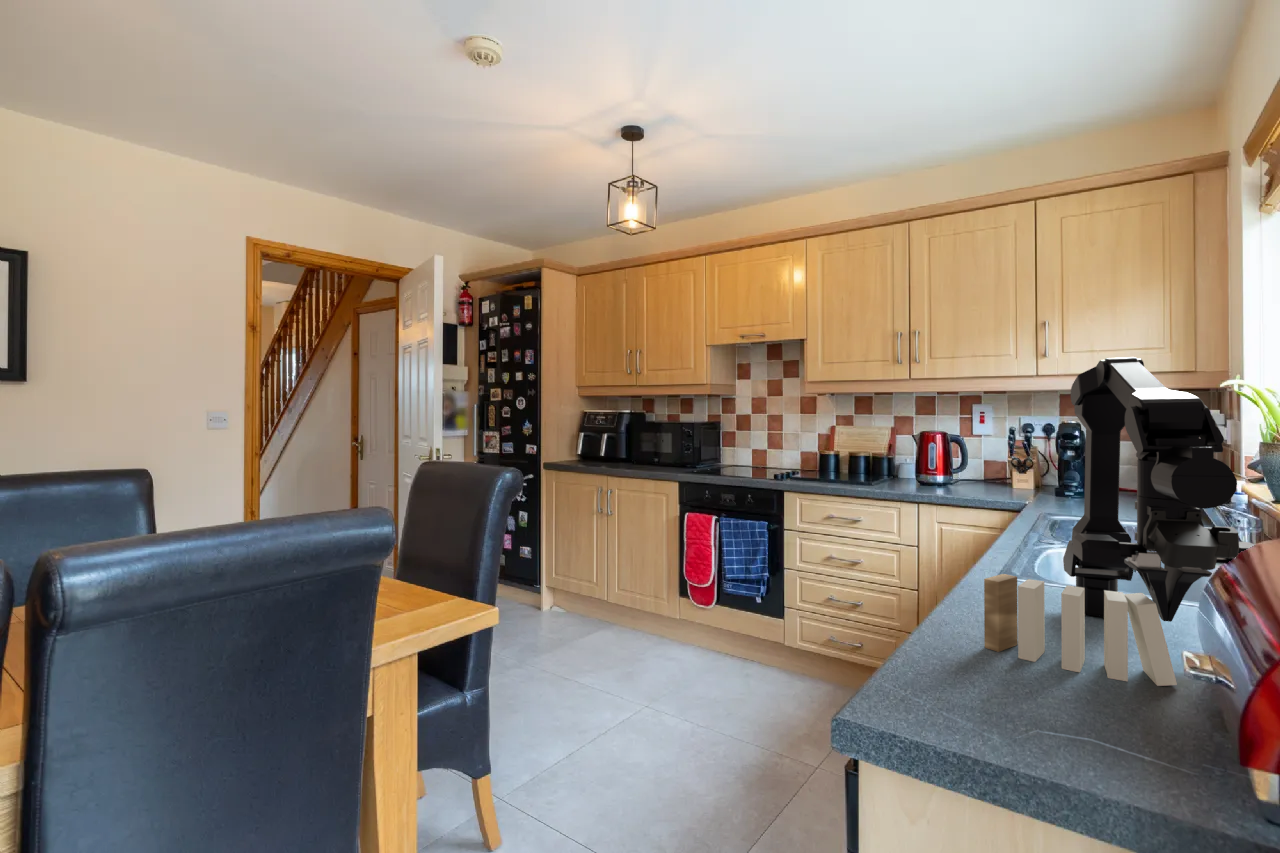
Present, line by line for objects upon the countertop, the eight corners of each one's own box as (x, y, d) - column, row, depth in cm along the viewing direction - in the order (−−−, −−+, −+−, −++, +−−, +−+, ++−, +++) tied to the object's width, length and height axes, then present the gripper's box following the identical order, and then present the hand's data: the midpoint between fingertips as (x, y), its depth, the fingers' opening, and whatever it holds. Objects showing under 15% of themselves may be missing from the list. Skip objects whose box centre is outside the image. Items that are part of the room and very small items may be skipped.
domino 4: (1107, 678, 79) (1107, 600, 79) (1104, 664, 83) (1104, 590, 83) (1127, 681, 78) (1127, 602, 78) (1122, 667, 82) (1122, 592, 82)
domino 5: (1157, 685, 76) (1136, 605, 77) (1143, 670, 81) (1123, 594, 82) (1177, 685, 76) (1155, 603, 76) (1162, 669, 80) (1141, 592, 81)
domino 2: (1018, 658, 86) (1017, 586, 85) (1028, 648, 89) (1028, 579, 89) (1035, 662, 84) (1034, 588, 84) (1044, 651, 88) (1044, 581, 88)
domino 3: (1061, 668, 82) (1061, 593, 82) (1067, 657, 86) (1066, 585, 86) (1080, 672, 81) (1079, 596, 80) (1084, 660, 84) (1084, 587, 84)
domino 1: (984, 647, 90) (984, 578, 89) (1003, 640, 92) (1003, 573, 92) (998, 652, 88) (998, 581, 88) (1017, 644, 90) (1017, 576, 90)
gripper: (1094, 502, 74) (1094, 632, 74) (1304, 509, 67) (1303, 654, 67) (1071, 491, 84) (1071, 605, 84) (1250, 496, 77) (1250, 621, 77)
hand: (1166, 620), depth 78 cm, fingers closed
